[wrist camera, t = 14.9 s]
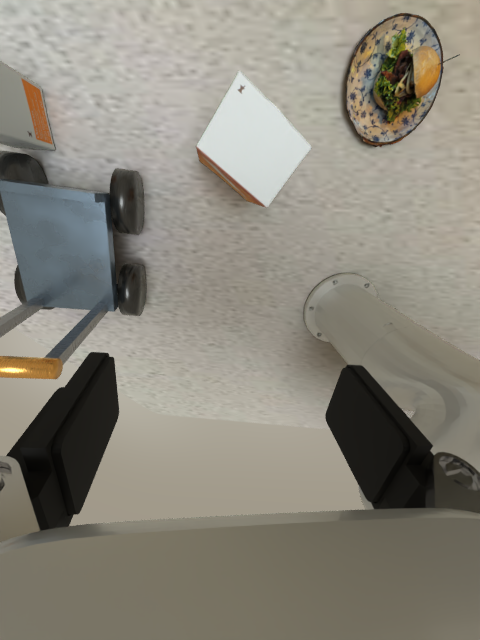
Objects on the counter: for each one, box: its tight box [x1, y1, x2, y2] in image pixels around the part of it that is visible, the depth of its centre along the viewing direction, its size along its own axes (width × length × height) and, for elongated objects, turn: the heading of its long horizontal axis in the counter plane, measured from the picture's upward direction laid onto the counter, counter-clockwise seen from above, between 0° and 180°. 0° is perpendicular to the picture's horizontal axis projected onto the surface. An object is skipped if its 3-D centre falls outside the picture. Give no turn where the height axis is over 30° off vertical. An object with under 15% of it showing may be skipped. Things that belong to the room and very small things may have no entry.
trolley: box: [0, 151, 146, 379], centre depth 26 cm, size 13×18×21 cm
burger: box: [346, 13, 458, 147], centre depth 28 cm, size 12×12×8 cm
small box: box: [196, 70, 311, 208], centre depth 27 cm, size 8×6×13 cm
